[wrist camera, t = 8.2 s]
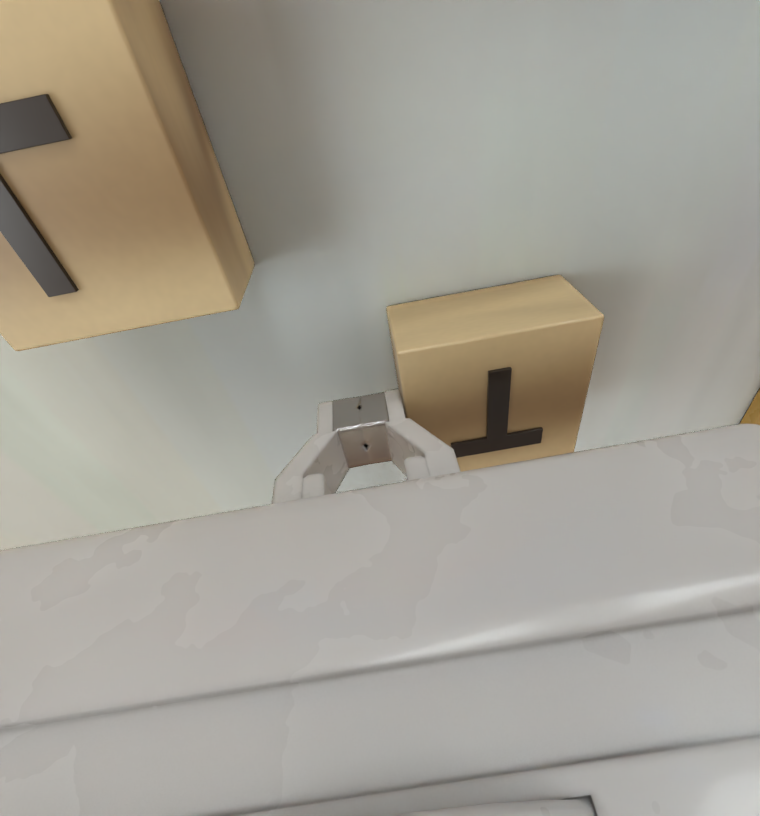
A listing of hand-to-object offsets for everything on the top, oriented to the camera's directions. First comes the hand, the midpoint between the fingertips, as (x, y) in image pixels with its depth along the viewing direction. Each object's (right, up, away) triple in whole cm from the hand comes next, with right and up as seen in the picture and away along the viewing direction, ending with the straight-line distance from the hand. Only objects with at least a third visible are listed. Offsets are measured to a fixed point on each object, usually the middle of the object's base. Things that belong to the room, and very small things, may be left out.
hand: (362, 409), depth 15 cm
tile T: (+4, +2, +1) cm, 5 cm away
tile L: (-7, +6, -3) cm, 10 cm away
